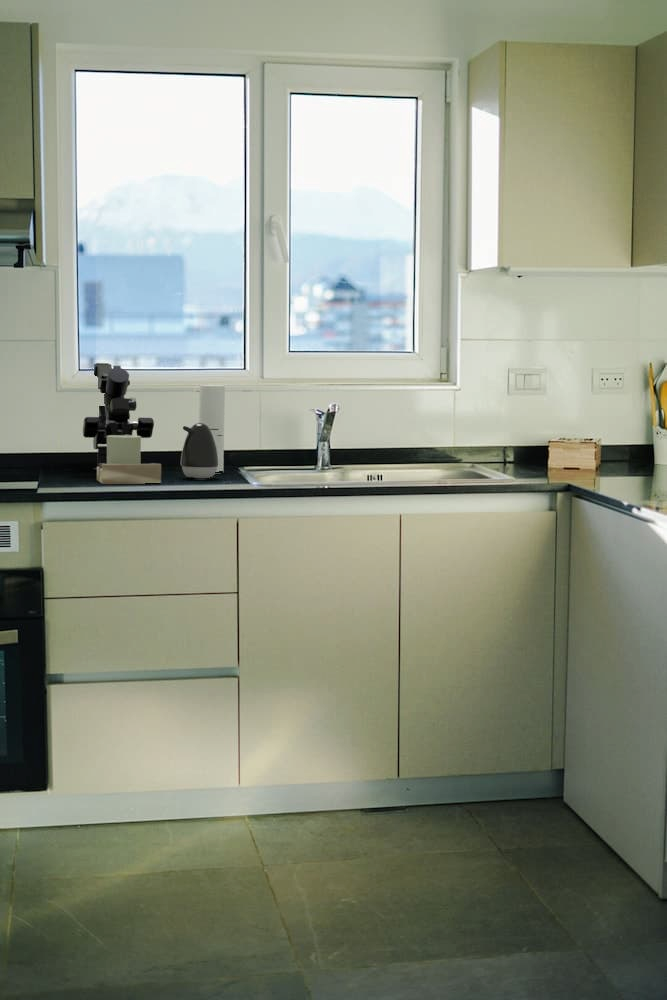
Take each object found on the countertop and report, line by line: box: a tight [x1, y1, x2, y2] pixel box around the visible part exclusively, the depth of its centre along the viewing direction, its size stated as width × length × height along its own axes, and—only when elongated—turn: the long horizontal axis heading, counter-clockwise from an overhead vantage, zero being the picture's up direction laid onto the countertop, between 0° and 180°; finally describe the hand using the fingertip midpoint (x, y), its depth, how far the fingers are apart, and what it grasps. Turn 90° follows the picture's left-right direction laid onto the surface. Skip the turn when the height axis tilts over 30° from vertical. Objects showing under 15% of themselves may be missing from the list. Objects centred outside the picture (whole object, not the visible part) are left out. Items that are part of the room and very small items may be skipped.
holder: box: [96, 462, 162, 485], centre depth 319 cm, size 10×15×5 cm
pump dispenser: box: [180, 422, 218, 479], centre depth 333 cm, size 10×10×15 cm
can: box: [106, 434, 142, 464], centre depth 325 cm, size 9×9×12 cm
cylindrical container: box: [198, 384, 226, 472], centre depth 353 cm, size 7×7×25 cm
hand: (121, 450), depth 329 cm, fingers closed
